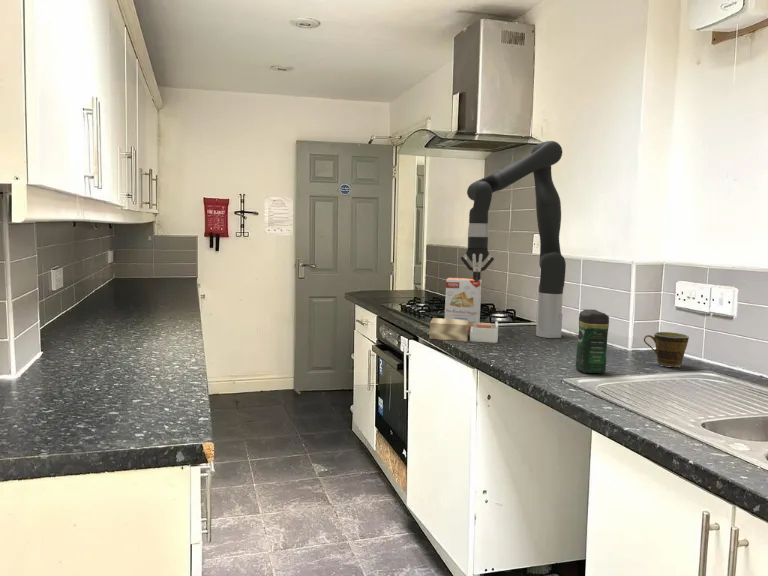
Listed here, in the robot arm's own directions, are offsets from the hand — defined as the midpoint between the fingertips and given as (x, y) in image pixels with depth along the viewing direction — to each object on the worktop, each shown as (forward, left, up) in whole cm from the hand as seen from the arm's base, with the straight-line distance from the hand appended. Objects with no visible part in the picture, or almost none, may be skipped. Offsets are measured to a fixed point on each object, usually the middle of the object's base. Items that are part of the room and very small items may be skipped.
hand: (476, 281), depth 230 cm
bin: (-4, +2, -22) cm, 22 cm away
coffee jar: (-36, +44, -22) cm, 61 cm away
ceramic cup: (-61, +29, -22) cm, 71 cm away
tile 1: (-4, +2, -18) cm, 19 cm away
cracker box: (+5, -17, -22) cm, 28 cm away
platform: (+9, +2, -22) cm, 23 cm away
